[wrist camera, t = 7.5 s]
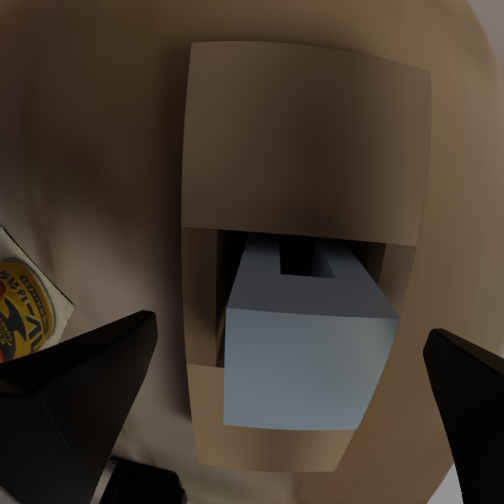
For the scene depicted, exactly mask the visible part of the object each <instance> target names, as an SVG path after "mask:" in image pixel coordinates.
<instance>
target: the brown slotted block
mask: <svg viewBox="0 0 504 504" xmlns="http://www.w3.org/2000/svg"><path fill="white" fill-rule="evenodd" d="M430 130H431V73H430V72H428V71H425V70H422V69H419V68H416V67H412V66H409V65H405V64H402V63H398V62H395V61H391V60H387V59H383V58H379V57H374V56H370V55H365V54H360V53H355V52H350V51H345V50H339V49H333V48H326V47H319V46H311V45H302V44H292V43H279V42H260V41H212V42H194V43H192V45H191V54H190V63H189V73H188V83H187V95H186V108H185V122H184V139H183V161H182V195H181V261H182V295H183V317H184V335H185V350H186V363H187V375H188V386H189V396H190V406H191V415H192V423H193V431H194V439H195V447H196V454H197V461H198V464H203V465H209V466H216V467H224V468H232V469H242V470H253V471H269V472H330V471H335V469H336V467H337V465H338V463H339V462H340V460H341V458H342V456H343V454H344V452H345V450H346V448H347V446H348V444H349V442H350V440H351V438H352V436H353V434H354V432H355V430H356V429H352V430H282V429H265V428H253V427H242V426H233V425H225V424H223V420H224V367H225V331H226V307H227V283H228V254H229V230H237V231H251V232H264V233H276V234H289V235H301V236H313V237H324V238H335V239H346V240H357V241H360V242H359V248H358V254H357V259H358V260H359V262H360V263H361V264H362V266H363V267H364V268H365V270H366V271H367V272H368V274H369V275H370V276H371V278H372V279H373V280H374V282H375V283H376V284H377V286H378V287H379V288H380V290H381V291H382V293H383V294H384V295H385V297H386V298H387V299H388V301H389V302H390V304H391V305H392V307H393V308H394V309H395V311H396V312H397V314H398V315H400V311H401V308H402V304H403V301H404V297H405V293H406V289H407V285H408V281H409V277H410V273H411V269H412V264H413V260H414V255H415V250H416V246H417V240H418V235H419V230H420V224H421V218H422V211H423V205H424V198H425V190H426V181H427V172H428V161H429V148H430Z"/></svg>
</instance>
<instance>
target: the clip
mask: <svg viewBox="0 0 504 504" xmlns="http://www.w3.org/2000/svg"><path fill="white" fill-rule="evenodd" d="M400 320H401V318H400V317H399V315H398V314H397V312H396V311H395V309H394V308H393V307H392V305H391V304H390V302H389V301H388V299H387V298H386V297H385V295H384V294H383V293H382V291H381V290H380V288H379V287H378V286H377V284H376V283H375V282H374V280H373V279H372V278H371V276H370V275H369V274H368V272H367V271H366V270H365V268H364V267H363V266H362V264H361V263H360V262H359V260H358V259H357V258H356V256H355V255H354V254H353V253H352V251H351V250H350V249H349V247H348V246H347V245H346V244H345V242H344V241H342V240H332V239H321V238H316V242H315V249H314V257H313V264H312V271H311V277H309V276H296V275H285V274H281V272H280V253H279V236H278V234H266V233H255V232H250V233H249V236H248V239H247V243H246V246H245V249H244V252H243V255H242V259H241V262H240V265H239V268H238V272H237V275H236V278H235V281H234V284H233V288H232V291H231V294H230V297H229V301H228V304H227V307H226V331H225V367H224V420H223V424H225V425H233V426H242V427H253V428H265V429H282V430H352V429H357V428H358V426H359V424H360V422H361V420H362V418H363V416H364V413H365V411H366V409H367V407H368V405H369V402H370V400H371V398H372V396H373V393H374V391H375V389H376V386H377V384H378V381H379V379H380V376H381V374H382V371H383V369H384V366H385V364H386V361H387V358H388V356H389V353H390V350H391V347H392V344H393V342H394V339H395V336H396V333H397V330H398V327H399V324H400Z"/></svg>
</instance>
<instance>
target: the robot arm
mask: <svg viewBox="0 0 504 504" xmlns="http://www.w3.org/2000/svg"><path fill="white" fill-rule="evenodd" d="M157 339H158V331H157V321H156V315H155V313H154V312H152V311H146V310H141V311H139V312H136V313H134V314H132V315H129V316H127V317H124V318H122V319H119V320H117V321H114V322H112V323H109V324H107V325H104V326H102V327H99V328H97V329H94V330H92V331H89V332H87V333H84V334H82V335H79V336H77V337H74V338H71V339H69V340H66V341H64V342H61V343H59V344H58V345H57V344H56V345H54V346H51V347H48V348H46V349H43V350H40V351H38V352H35V353H32V354H29V355H26V356H23V357H19V358H16V359H13V360H9V361H6V362H2V363H0V504H90V502H91V500H92V497H93V495H94V492H95V490H96V487H97V484H98V482H99V480H100V477H101V475H102V472H103V470H104V468H105V465H106V463H107V461H108V458H109V456H110V454H111V451H112V449H113V447H114V445H115V442H116V440H117V438H118V435H119V433H120V431H121V429H122V427H123V424H124V422H125V420H126V418H127V415H128V413H129V411H130V409H131V407H132V405H133V402H134V400H135V398H136V396H137V394H138V392H139V390H140V387H141V385H142V383H143V381H144V379H145V376H146V373H147V370H148V367H149V364H150V361H151V358H152V355H153V352H154V349H155V346H156V343H157ZM423 357H424V361H425V365H426V368H427V372H428V376H429V380H430V384H431V388H432V391H433V394H434V398H435V400H436V403H437V406H438V409H439V412H440V415H441V418H442V421H443V425H444V428H445V431H446V434H447V438H448V441H449V445H450V448H451V452H452V455H453V459H454V463H455V467H456V471H457V475H458V479H459V483H460V488H461V492H462V499H463V503H464V504H504V358H502V357H500V356H498V355H495V354H493V353H491V352H489V351H487V350H485V349H483V348H481V347H479V346H477V345H475V344H473V343H471V342H469V341H467V340H465V339H463V338H461V337H459V336H457V335H455V334H453V333H451V332H449V331H447V330H444V329H442V328H438V329H432V330H431V331H430V333H429V336H428V338H427V341H426V344H425V346H424V349H423ZM109 462H110V464H111V466H112V467H113V469H114V471H113V473H112V475H111V477H110V479H109V482H108V484H107V486H106V488H105V491H104V493H103V495H102V497H101V500H100V502H99V504H187V496H186V493H185V490H184V489H183V488H182V486H181V483H180V479H179V477H178V476H177V475H175V474H172V473H167V472H163V471H159V470H155V469H151V468H147V467H143V466H140V465H136V464H133V463H130V462H126V461H123V460H120V459H117V458H114V457H111V458H110V460H109Z"/></svg>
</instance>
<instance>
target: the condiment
mask: <svg viewBox="0 0 504 504" xmlns="http://www.w3.org/2000/svg"><path fill="white" fill-rule="evenodd" d="M73 310H74V306H73V305H72V304H71V303H70V302H69V301H68V300H67V299H66V298H65V297H64V296H63V295H62V294H61V293H60V292H59V291H58V290H57V289H56V288H55V287H54V285H53V284H52V283H51V282H50V281H49V280H48V279H47V278H46V277H45V276H44V275H43V273H42V272H41V271H40V270H39V269H38V268H37V267H36V266H35V265H34V264H33V263H32V262H31V260H30V259H29V258H28V257H27V256H26V255H25V254H24V253H23V251H22V250H21V249H20V248H19V247H18V246H17V245H16V244H15V243H13V241H12V240H11V239H10V237H9V236H8V235H7V234H6V233H5V231H4V230H3V228H2V227H1V228H0V363H2V362H6V361H9V360H13V359H16V358H19V357H23V356H26V355H29V354H32V353H35V352H38V351H40V350H43V349H46V348H48V347H51V346H54V345H56V344H57V343H58V341H59V339H60V337H61V335H62V333H63V331H64V329H65V327H66V325H67V322H68V320H69V318H70V316H71V314H72V312H73Z"/></svg>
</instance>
